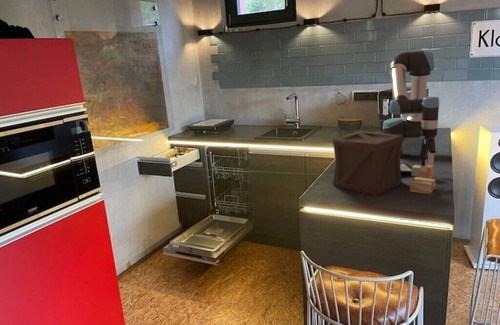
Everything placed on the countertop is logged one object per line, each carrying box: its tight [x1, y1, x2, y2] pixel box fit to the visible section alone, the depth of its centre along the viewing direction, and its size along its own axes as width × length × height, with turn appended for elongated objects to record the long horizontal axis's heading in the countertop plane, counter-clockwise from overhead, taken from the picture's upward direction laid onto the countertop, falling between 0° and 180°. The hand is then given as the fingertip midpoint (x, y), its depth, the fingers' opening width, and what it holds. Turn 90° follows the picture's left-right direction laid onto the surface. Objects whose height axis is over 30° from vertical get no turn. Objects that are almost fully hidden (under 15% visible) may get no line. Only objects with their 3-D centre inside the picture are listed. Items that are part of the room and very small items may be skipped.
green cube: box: [410, 164, 421, 177], centre depth 206 cm, size 5×5×5 cm
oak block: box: [409, 176, 436, 195], centre depth 184 cm, size 9×9×5 cm
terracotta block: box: [420, 164, 434, 179], centre depth 199 cm, size 5×5×7 cm
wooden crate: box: [332, 130, 404, 197], centre depth 195 cm, size 25×25×25 cm
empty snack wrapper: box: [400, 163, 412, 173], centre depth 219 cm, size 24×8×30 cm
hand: (426, 168), depth 198 cm, fingers open, 13 cm apart
